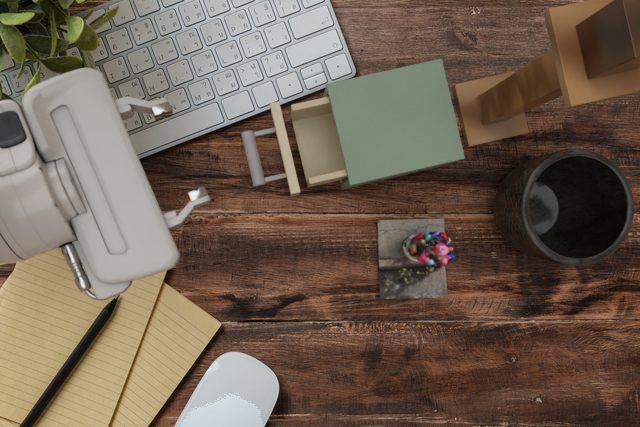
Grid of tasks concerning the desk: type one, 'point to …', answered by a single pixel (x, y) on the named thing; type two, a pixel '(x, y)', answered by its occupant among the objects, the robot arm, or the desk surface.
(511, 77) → the stand
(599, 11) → the pencil box
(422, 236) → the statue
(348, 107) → the cabinet
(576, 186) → the planter
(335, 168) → the drawer
